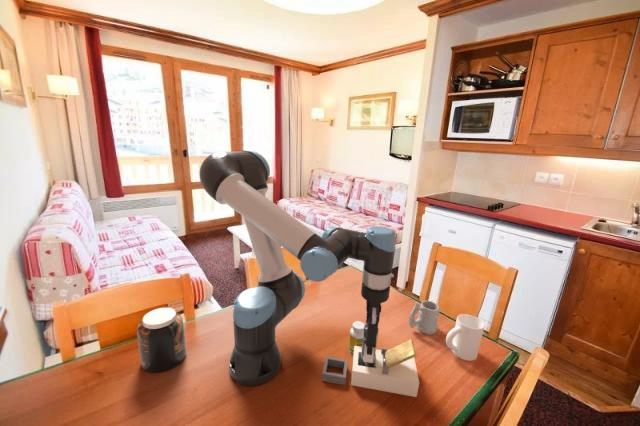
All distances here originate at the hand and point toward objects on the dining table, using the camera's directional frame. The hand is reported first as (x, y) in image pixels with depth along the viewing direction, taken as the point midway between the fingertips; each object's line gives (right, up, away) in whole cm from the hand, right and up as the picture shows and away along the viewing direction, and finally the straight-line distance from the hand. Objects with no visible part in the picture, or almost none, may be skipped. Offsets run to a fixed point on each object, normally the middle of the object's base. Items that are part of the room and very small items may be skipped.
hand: (368, 355), depth 83 cm
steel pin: (0, -7, +2) cm, 7 cm away
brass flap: (+9, +1, -2) cm, 9 cm away
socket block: (+4, -7, +1) cm, 8 cm away
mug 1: (+24, -2, +23) cm, 33 cm away
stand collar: (-10, -6, +1) cm, 12 cm away
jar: (-62, -3, +4) cm, 62 cm away
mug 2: (+32, -6, +12) cm, 35 cm away
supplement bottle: (-2, -4, +11) cm, 12 cm away
